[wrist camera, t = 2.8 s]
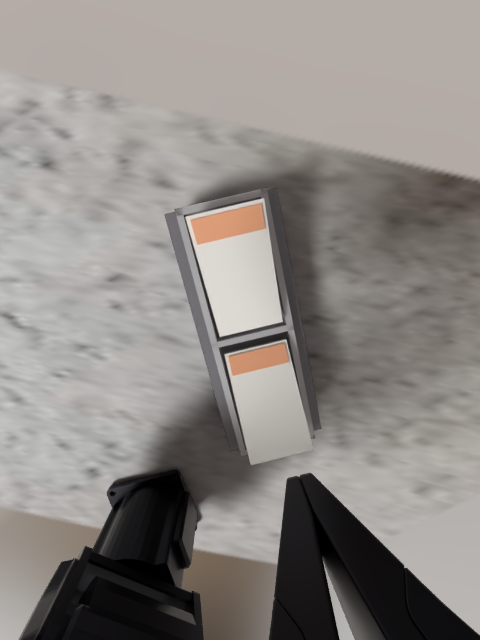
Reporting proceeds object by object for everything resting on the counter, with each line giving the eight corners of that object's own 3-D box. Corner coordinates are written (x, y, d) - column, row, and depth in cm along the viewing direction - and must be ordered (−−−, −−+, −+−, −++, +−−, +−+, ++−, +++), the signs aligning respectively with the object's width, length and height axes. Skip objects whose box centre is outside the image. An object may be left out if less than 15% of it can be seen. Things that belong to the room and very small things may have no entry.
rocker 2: (250, 456, 16) (250, 466, 15) (225, 353, 16) (224, 354, 15) (309, 442, 16) (314, 450, 15) (283, 338, 16) (286, 339, 15)
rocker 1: (219, 329, 16) (219, 337, 15) (187, 216, 13) (184, 216, 12) (278, 315, 16) (283, 322, 15) (260, 198, 13) (264, 198, 12)
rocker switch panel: (229, 426, 21) (230, 460, 17) (174, 223, 18) (160, 210, 14) (308, 407, 21) (326, 436, 17) (268, 201, 18) (279, 182, 14)
